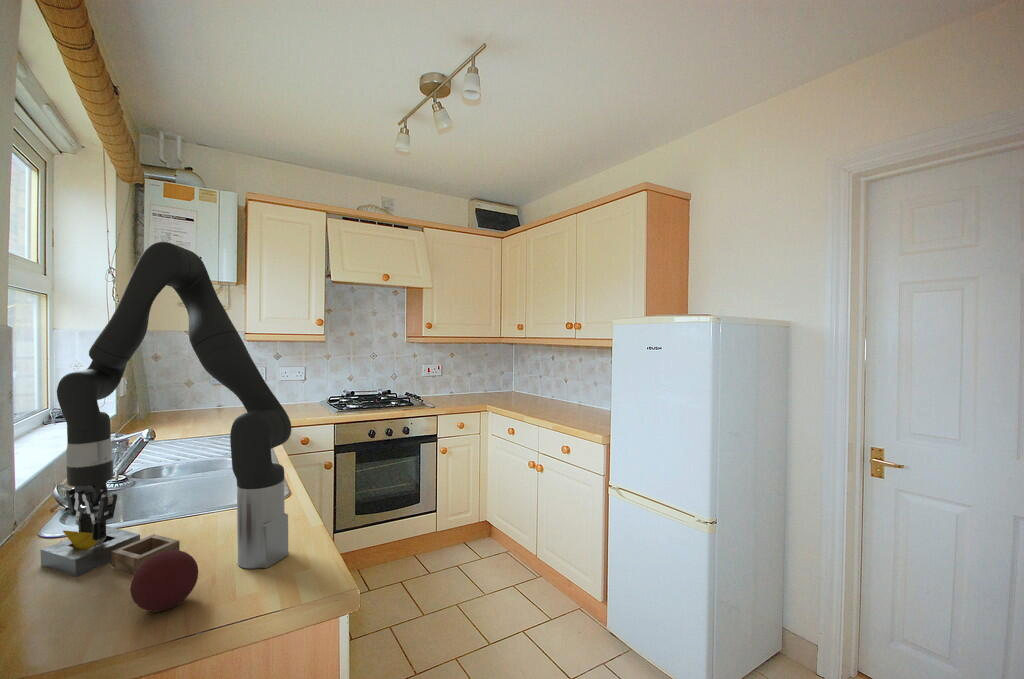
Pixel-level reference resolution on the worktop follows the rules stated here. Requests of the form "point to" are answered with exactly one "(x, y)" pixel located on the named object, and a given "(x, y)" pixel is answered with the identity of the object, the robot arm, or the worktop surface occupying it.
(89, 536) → the drill bit
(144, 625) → the worktop surface
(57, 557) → the hub plate
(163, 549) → the wooden square frame
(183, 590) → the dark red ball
